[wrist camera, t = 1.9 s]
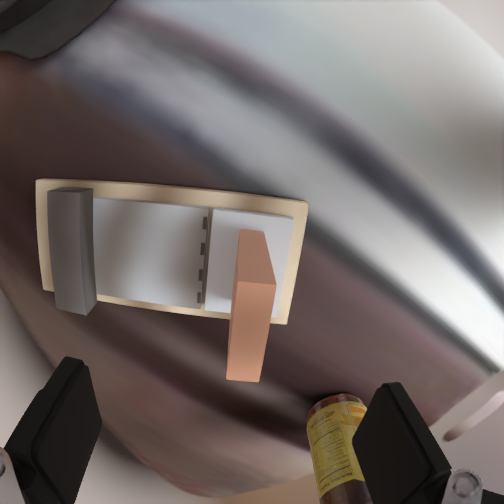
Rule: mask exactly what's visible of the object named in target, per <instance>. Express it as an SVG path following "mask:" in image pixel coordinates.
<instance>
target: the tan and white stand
mask: <svg viewBox="0 0 504 504" xmlns="http://www.w3.org/2000/svg"><path fill="white" fill-rule="evenodd" d="M293 222H294V219H293V218H292V217H289V216H282V215H274V214H266V213H258V212H250V211H241V210H233V209H224V208H214V210H213V219H212V229H211V240H210V251H209V262H208V274H207V287H206V300H205V310H206V311H215V312H224V313H230V328H229V343H228V358H227V374H226V379H227V380H237V381H250V382H259V378H260V373H261V368H262V363H263V358H264V353H265V347H266V342H267V337H268V332H269V326H270V321H271V317H274V318H277V312H278V307H279V302H280V296H281V291H282V285H283V280H284V274H285V269H286V263H287V257H288V251H289V246H290V240H291V234H292V228H293Z"/></svg>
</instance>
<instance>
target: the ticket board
mask: <svg viewBox="0 0 504 504" xmlns="http://www.w3.org/2000/svg"><path fill="white" fill-rule="evenodd" d="M214 208H224V209H233V210H241V211H250V212H258V213H266V214H274V215H282V216H289V217H292V218H293V219H294V222H293V228H292V234H291V240H290V246H289V251H288V257H287V263H286V269H285V274H284V280H283V285H282V291H281V296H280V302H279V307H278V312H277V318H274V317H271V321H270V323H274V324H287V319H288V315H289V310H290V305H291V300H292V295H293V290H294V285H295V280H296V275H297V270H298V264H299V259H300V254H301V248H302V243H303V237H304V231H305V226H306V220H307V214H308V208H309V203H308V202H306V201H301V200H294V199H287V198H279V197H272V196H264V195H256V194H248V193H240V192H231V191H222V190H213V189H203V188H193V187H182V186H171V185H159V184H146V183H132V182H117V181H99V180H77V179H46V178H43V179H38V180H36V220H37V237H38V249H39V259H40V268H41V276H42V284H43V290H48V291H53V292H54V295H55V301H56V307H57V309H60V310H64V311H69V312H73V313H78V314H83V315H87V314H88V313H89V312H90V310H91V309H92V308H93V307H94V306H95V304H96V303H97V300H99V301H104V302H110V303H116V304H122V305H128V306H134V307H140V308H147V309H153V310H160V311H167V312H174V313H182V314H189V315H197V316H205V317H214V318H223V319H230V313H224V312H215V311H206V310H205V300H206V287H207V274H208V262H209V251H210V240H211V229H212V219H213V210H214Z"/></svg>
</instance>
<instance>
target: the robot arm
mask: <svg viewBox="0 0 504 504" xmlns="http://www.w3.org/2000/svg"><path fill="white" fill-rule="evenodd" d="M101 426H102V420H101V416H100V412H99V409H98V405H97V401H96V397H95V393H94V389H93V385H92V381H91V376H90V372H89V368H88V366H86V365H84V362H83V361H82V360H80V359H76V358H72V357H68V356H66V357H64V359H63V360H62V361H61V363H60V364H59V366H58V367H57V369H56V370H55V372H54V373H53V374H52V376H51V378H50V379H49V381H48V382H47V383H46V385H45V387H44V388H43V389H42V390H40V391H39V392H38V393H37V394H36V396H35V397H34V399H33V401H32V402H31V404H30V405H29V407H28V408H27V410H26V412H25V413H24V415H23V416H22V418H21V420H20V421H19V423H18V425H17V426H16V428H15V430H14V431H13V433H12V435H11V436H10V438H9V440H8V442H7V443H6V445H5V447H4V449H3V448H1V447H0V504H74V503H75V500H76V497H77V494H78V491H79V488H80V485H81V482H82V479H83V476H84V474H85V471H86V467H87V465H88V462H89V460H90V457H91V454H92V451H93V449H94V446H95V443H96V441H97V438H98V435H99V433H100V430H101ZM352 446H353V449H354V452H355V454H356V457H357V460H358V463H359V466H360V468H361V471H362V474H363V477H364V480H365V483H366V485H367V488H368V491H369V494H370V497H371V500H372V503H373V504H504V495H500V494H497V493H494V492H490V491H487V490H484V489H483V483H482V480H481V478H480V477H479V475H478V474H476V473H475V472H474V471H472V470H470V469H464V468H463V469H458V470H456V471H454V472H453V473H451V471H450V469H451V468H452V467H451V466H450V464H449V462H448V460H447V459H446V457H445V455H444V453H443V452H442V450H441V448H440V447H439V445H438V443H437V441H436V440H435V438H434V436H433V435H432V433H431V431H430V430H429V428H428V426H427V425H426V423H425V421H424V420H423V418H422V416H421V415H420V413H419V412H418V410H417V408H416V407H415V405H414V403H413V402H412V400H411V399H410V397H409V395H408V394H407V392H406V391H405V389H404V388H403V386H402V385H401V383H399V382H394V383H384V384H382V385H381V387H380V388H378V389H377V390H376V392H375V394H374V396H373V398H372V400H371V403H370V405H369V407H368V409H367V411H366V413H365V415H364V417H363V418H362V420H361V422H360V424H359V426H358V428H357V430H356V432H355V434H354V435H353V438H352Z"/></svg>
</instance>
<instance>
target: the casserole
mask: <svg viewBox="0 0 504 504" xmlns="http://www.w3.org/2000/svg"><path fill="white" fill-rule="evenodd" d="M115 1H116V0H0V52H9V53H12V54H15V55H18V56H21V57H24V58H26V59H29V60H35V59H39V58H43V57H46V56H48V55H50V54H51V53H53V52H55V51H57V50H59V49H60V48H62V47H63V46H65V45H66V44H67V43H69V42H70V41H71V40H73V39H74V38H75V37H77V36H78V35H79V34H81V33H82V32H83V31H84V30H85V29H86V28H88V27H89V26H90V25H91V24H92V23H93V22H94V21H96V20H97V19H98V18H99V17H100V16H101V15H102V14H103V13H104V12H105V11H106V10H107V9H108V8H109V7H110V6H111V5H112V4H113V3H114V2H115Z"/></svg>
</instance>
